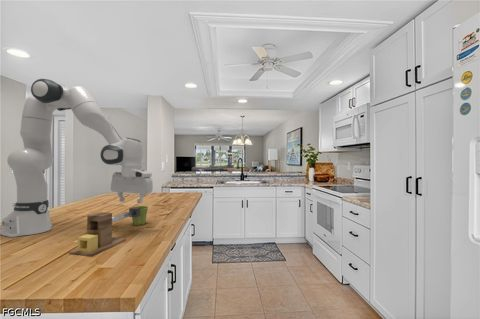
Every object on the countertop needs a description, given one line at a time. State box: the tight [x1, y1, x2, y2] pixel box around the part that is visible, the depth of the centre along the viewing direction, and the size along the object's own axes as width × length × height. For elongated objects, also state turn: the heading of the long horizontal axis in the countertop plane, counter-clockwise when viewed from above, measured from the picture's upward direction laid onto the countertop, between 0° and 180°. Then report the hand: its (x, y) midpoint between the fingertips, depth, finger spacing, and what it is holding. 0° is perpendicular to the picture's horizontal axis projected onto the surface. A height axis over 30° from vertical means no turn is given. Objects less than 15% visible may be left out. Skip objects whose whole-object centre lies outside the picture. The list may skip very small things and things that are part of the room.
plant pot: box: [130, 205, 149, 226], centre depth 133 cm, size 9×9×9 cm
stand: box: [68, 211, 127, 257], centre depth 98 cm, size 10×18×13 cm, turn 168°
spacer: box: [77, 233, 98, 252], centre depth 93 cm, size 4×5×5 cm
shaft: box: [96, 206, 140, 226], centre depth 109 cm, size 24×4×4 cm, turn 168°
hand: (130, 202), depth 117 cm, fingers open, 8 cm apart
